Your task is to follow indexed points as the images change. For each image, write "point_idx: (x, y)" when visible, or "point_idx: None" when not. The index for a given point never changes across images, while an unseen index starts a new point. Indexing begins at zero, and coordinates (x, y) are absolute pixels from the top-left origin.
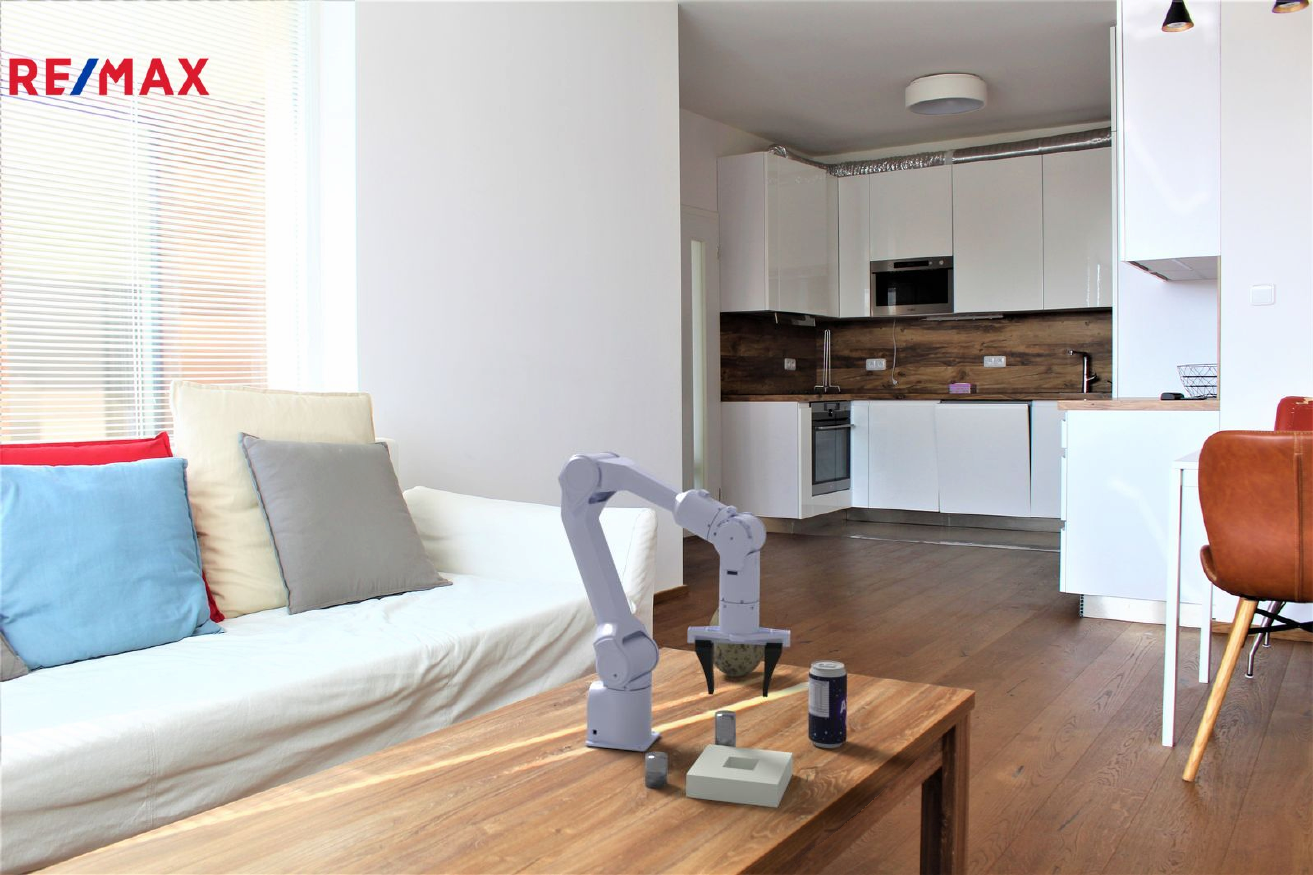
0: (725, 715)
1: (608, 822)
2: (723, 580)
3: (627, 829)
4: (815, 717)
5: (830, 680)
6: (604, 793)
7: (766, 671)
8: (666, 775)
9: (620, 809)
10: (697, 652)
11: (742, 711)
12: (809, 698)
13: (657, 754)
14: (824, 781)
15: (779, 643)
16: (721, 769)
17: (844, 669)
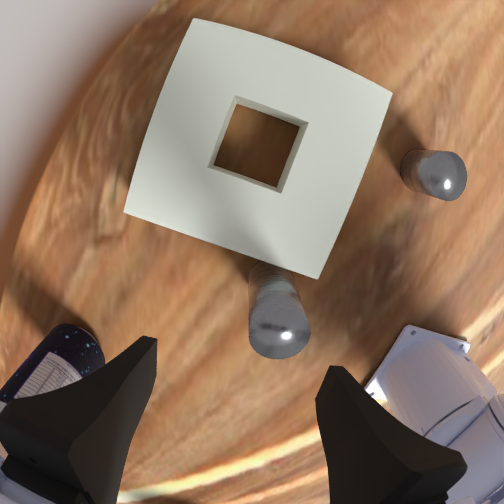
0: (282, 320)
1: (475, 44)
2: None
3: (451, 14)
4: (73, 364)
5: (9, 398)
6: (485, 148)
7: (108, 386)
8: (413, 159)
9: (467, 80)
10: (461, 454)
11: (211, 462)
12: None
13: (447, 181)
14: (88, 167)
15: (13, 478)
16: (313, 106)
17: None
